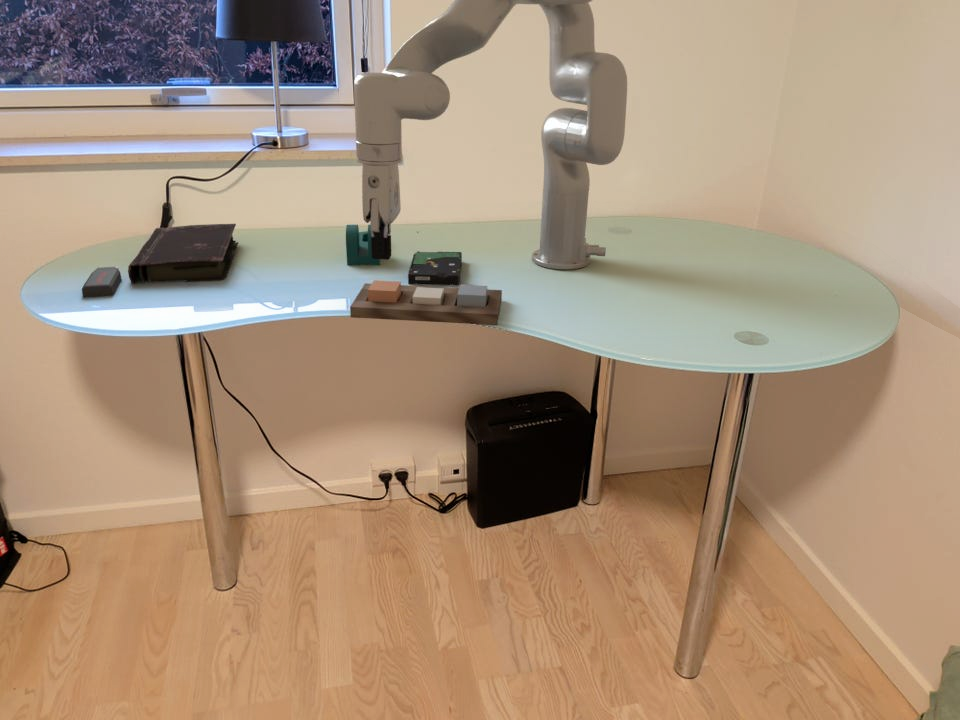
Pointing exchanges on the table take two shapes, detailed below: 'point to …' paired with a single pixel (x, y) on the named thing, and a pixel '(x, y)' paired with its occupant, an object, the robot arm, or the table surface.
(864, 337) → the table surface
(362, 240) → the bracket
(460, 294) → the slate button
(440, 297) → the white button
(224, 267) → the diary
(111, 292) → the dark grey block
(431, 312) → the panel
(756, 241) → the table surface
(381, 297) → the terracotta button
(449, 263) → the disk drive
